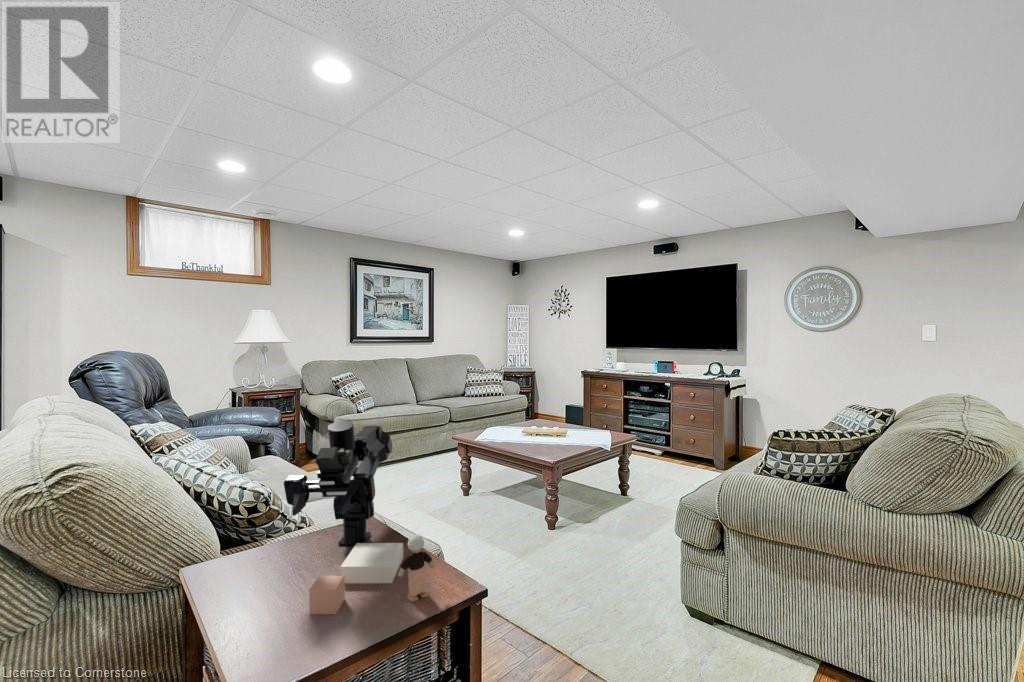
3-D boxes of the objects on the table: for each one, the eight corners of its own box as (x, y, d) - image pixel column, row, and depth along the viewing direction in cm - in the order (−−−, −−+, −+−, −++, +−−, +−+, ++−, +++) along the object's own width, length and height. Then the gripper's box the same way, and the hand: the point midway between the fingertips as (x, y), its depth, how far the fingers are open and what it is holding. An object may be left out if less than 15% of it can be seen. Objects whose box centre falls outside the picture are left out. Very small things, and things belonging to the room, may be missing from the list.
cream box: (356, 559, 112) (356, 543, 112) (403, 559, 112) (403, 542, 112) (340, 585, 101) (340, 566, 101) (391, 584, 101) (391, 566, 101)
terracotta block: (319, 600, 95) (319, 575, 95) (344, 599, 95) (344, 575, 95) (309, 615, 90) (309, 589, 90) (335, 615, 90) (335, 589, 90)
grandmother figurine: (426, 585, 100) (426, 526, 99) (437, 593, 97) (436, 532, 97) (394, 600, 94) (393, 538, 94) (404, 608, 92) (404, 544, 91)
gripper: (295, 440, 107) (262, 479, 93) (377, 438, 108) (358, 476, 93) (302, 483, 111) (272, 527, 96) (382, 480, 111) (364, 524, 96)
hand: (316, 512), depth 95 cm, fingers open, 9 cm apart
